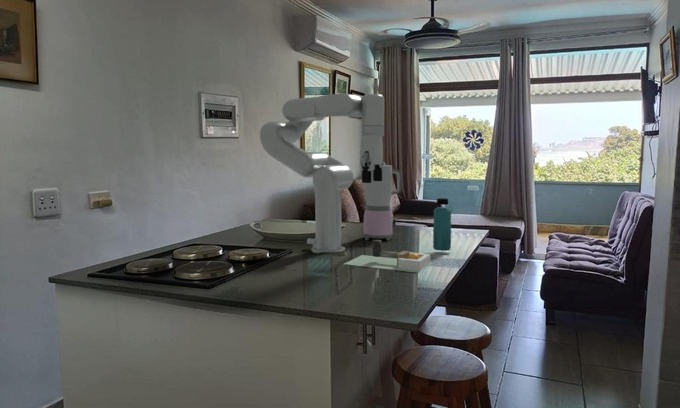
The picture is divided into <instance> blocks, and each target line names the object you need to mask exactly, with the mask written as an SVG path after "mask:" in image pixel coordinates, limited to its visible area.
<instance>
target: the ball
mask: <svg viewBox="0 0 680 408" xmlns="http://www.w3.org/2000/svg"><path fill="white" fill-rule="evenodd" d="M411 253H412V254H410V255H409V256H408V259H414V260H417V259H419V258H420V257H419V255H417V254H415V253H416V252H411Z"/></svg>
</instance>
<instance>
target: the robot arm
mask: <svg viewBox="0 0 680 408" xmlns="http://www.w3.org/2000/svg"><path fill="white" fill-rule="evenodd" d="M281 109H282V110H281V112H282V115H283V117H284V118H285V119H286V120H287V121H279V120H276V121H267V122H266V123H264V124H263V125H262V126H261V128H260V131H259V139H260V143H261V145H262V147H263V150H264V151H265V152H266V153H267V154H268V155H269V156H270V157H271V158H273V159H275V160H276V161H277V162H279V163H281V164H283V165H284V166H285V167H287V168H289V169H290V170H292V171H294V172H295V173H296V174H298V175H300V176H301V177H304V178H312V185H313V190H314V203H315V204H314V206H315V207H314V208H315V209H314V210H315V238H310V237H309V238H307V239H306V244H307V245H311V246H312V247H311V252H312V253H314V254H320V253H338V252H343V251H345V250H346V247H345V246H343V245H342V210H343V209H342V199H341V195H340V192H339V191H342V190H346V189H348V188H350V187H351V186H352V184H353V183H354V180H355V179H354V172H353V171H352V169H351V168H350V166H348V165H347V164H346V163H343V162H341V161H340V160H338V159H336V158H335V157H333V156H331V155H329V154H328V153H325V152H321V151H307V150H304V149H302V148H300V147H299V146H297V145H296V144H294V143H296V142H298V141H299V140H300V138H301V137H302V136H303V135H304V134H305V132H306V131H307V130H308V129H309V128H310V127H311V126H312V124H313V122H317V121H318V122H319V121H323V120H324V119H325V118H331V117H332V118H333V117H350V118H357V119H358V118H361V141H360V153H359V155H360V156H359V163H360V166H361V183H364V184H365V183H371V171H370V170H371V167H372V165H373V166H374V169H375V170H373V181H382V169H383V167H382V165H383V162H384V147H383V146H384V142H383V137H384V136H385V97H384V96H383V94H379V93H370V94H369V93H368V94H364V95H363V96H362V95H356V94H351V93H334V94H323V95H319V96H313V97H312V96H311V97H302V98H301V97H300V98H292V99H288V100H286V101H285V103H284V104H283V105H282V108H281ZM368 165H369V166H368Z"/></svg>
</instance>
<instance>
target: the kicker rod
mask: <svg viewBox="0 0 680 408" xmlns="http://www.w3.org/2000/svg"><path fill="white" fill-rule="evenodd" d="M371 244H372V246H371V247H372V250H371V251H372V252H371V256H374V257H387V258H396V259H397V266H398V259H399V258H404V259H408V256H409V252H410V250H402V251H400V252H398V251H397V252H396V251H387V250H382V249H383V248H382V244H383V243H382V239H372V243H371Z"/></svg>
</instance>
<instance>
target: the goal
mask: <svg viewBox="0 0 680 408" xmlns="http://www.w3.org/2000/svg"><path fill="white" fill-rule="evenodd" d="M412 253H413V252H411V251H409V255H410V254H412ZM414 253H415V254H417V255H419V257H420V258H419V259H417V260H414V259H404V258H399V259H398V269H406V270H415V271H421V270H422V269H423V268H425V267H426V266H427V267H429V266H430V265H431V264H430V262H431V254H430V253H420V252H414ZM429 264H430V265H429ZM428 265H429V266H428ZM427 267H426V268H427ZM426 268H425V269H426ZM423 270H424V269H423ZM423 270H422V271H423ZM422 271H421V272H422Z"/></svg>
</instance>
